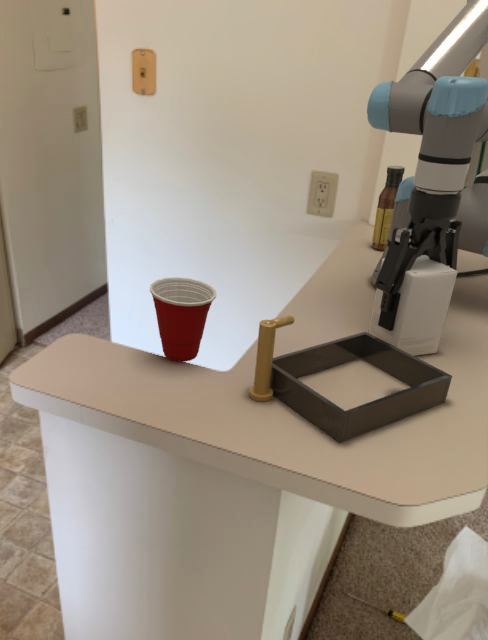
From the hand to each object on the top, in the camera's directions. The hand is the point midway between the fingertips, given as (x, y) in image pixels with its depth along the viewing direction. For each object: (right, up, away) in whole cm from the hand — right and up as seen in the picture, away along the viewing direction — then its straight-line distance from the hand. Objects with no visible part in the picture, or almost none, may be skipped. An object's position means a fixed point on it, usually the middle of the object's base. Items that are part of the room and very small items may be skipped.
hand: (406, 321), depth 106 cm
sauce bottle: (+12, +25, +51) cm, 58 cm away
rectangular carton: (0, -4, +3) cm, 5 cm away
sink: (-14, -13, -13) cm, 24 cm away
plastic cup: (-39, -6, -2) cm, 40 cm away
